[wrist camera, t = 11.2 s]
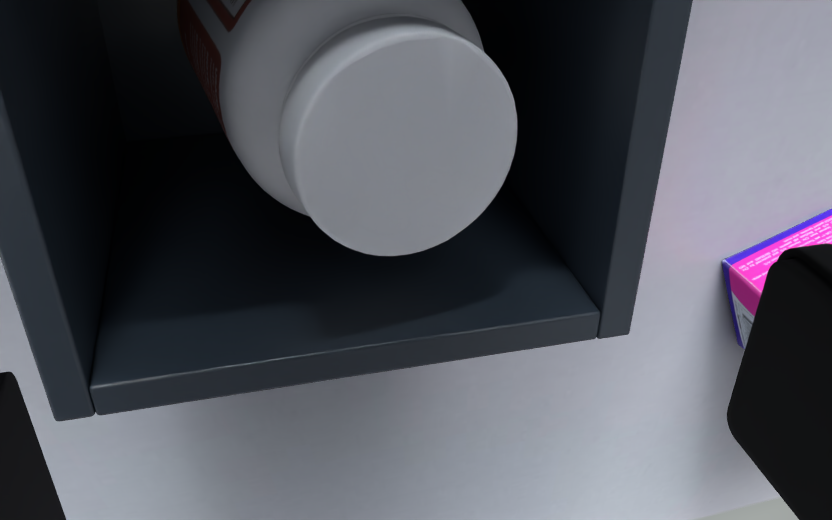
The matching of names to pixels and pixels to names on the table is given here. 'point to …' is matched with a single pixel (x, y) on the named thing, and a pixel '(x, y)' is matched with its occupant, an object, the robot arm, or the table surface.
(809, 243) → the supplement box
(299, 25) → the pill bottle
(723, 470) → the table surface
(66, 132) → the trash bin
